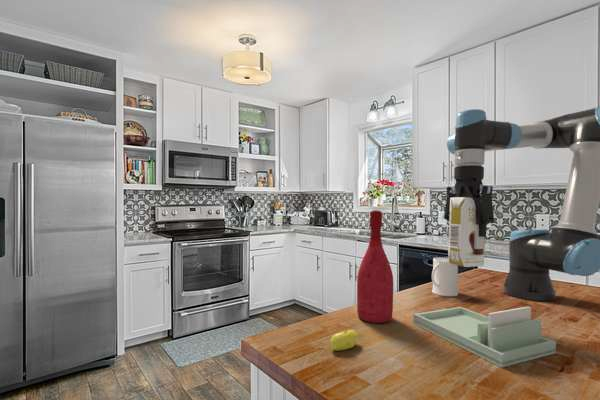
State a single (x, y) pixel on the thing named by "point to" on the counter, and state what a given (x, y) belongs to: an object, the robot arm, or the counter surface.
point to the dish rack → (490, 333)
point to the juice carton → (463, 234)
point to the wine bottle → (375, 278)
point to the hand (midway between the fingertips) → (466, 246)
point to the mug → (444, 277)
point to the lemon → (344, 340)
